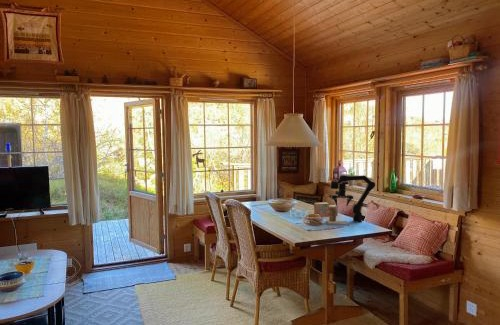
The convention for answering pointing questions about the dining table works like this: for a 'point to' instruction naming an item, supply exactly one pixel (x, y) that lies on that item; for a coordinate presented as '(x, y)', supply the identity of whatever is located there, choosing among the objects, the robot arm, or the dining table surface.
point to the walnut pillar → (332, 214)
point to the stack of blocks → (324, 208)
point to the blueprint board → (337, 222)
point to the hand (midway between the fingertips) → (341, 206)
